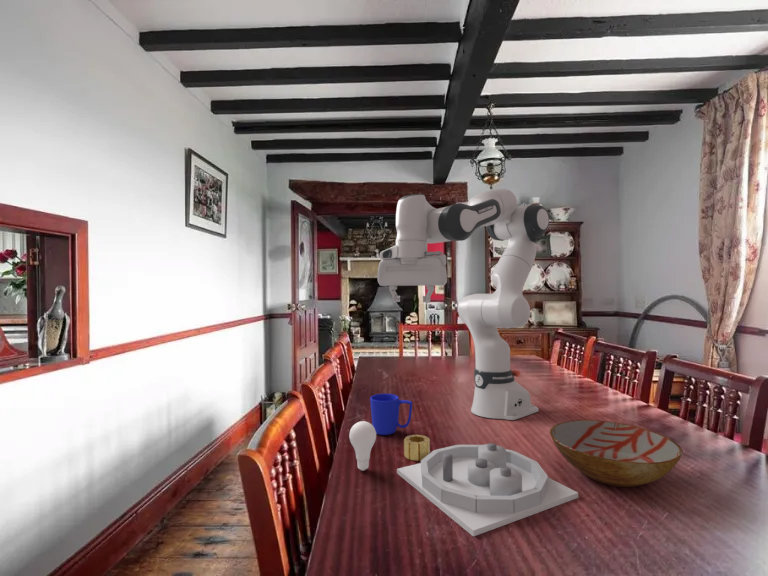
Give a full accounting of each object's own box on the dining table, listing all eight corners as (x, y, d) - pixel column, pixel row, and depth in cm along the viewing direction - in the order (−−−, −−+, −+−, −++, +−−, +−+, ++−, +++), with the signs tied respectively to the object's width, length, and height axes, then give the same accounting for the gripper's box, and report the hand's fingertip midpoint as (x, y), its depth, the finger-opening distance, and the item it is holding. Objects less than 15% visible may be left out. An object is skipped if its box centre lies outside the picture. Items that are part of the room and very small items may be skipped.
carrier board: (487, 450, 102) (486, 426, 102) (578, 497, 79) (577, 467, 79) (397, 473, 90) (396, 446, 90) (473, 536, 67) (472, 500, 67)
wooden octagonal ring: (420, 448, 104) (420, 433, 104) (434, 457, 98) (433, 441, 98) (400, 453, 101) (400, 437, 101) (412, 462, 96) (412, 445, 96)
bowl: (690, 520, 71) (689, 474, 71) (539, 484, 85) (539, 446, 85) (677, 466, 93) (677, 431, 93) (559, 444, 106) (559, 413, 106)
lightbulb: (349, 465, 95) (349, 418, 95) (375, 463, 95) (375, 417, 95) (349, 477, 89) (349, 427, 89) (377, 475, 89) (377, 425, 89)
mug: (410, 439, 110) (410, 402, 110) (367, 436, 113) (367, 400, 113) (414, 428, 119) (413, 394, 118) (374, 426, 121) (373, 392, 121)
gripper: (450, 251, 110) (450, 302, 110) (386, 255, 121) (385, 301, 120) (441, 249, 105) (441, 303, 104) (374, 253, 115) (374, 301, 115)
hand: (411, 302), depth 113 cm, fingers open, 8 cm apart
